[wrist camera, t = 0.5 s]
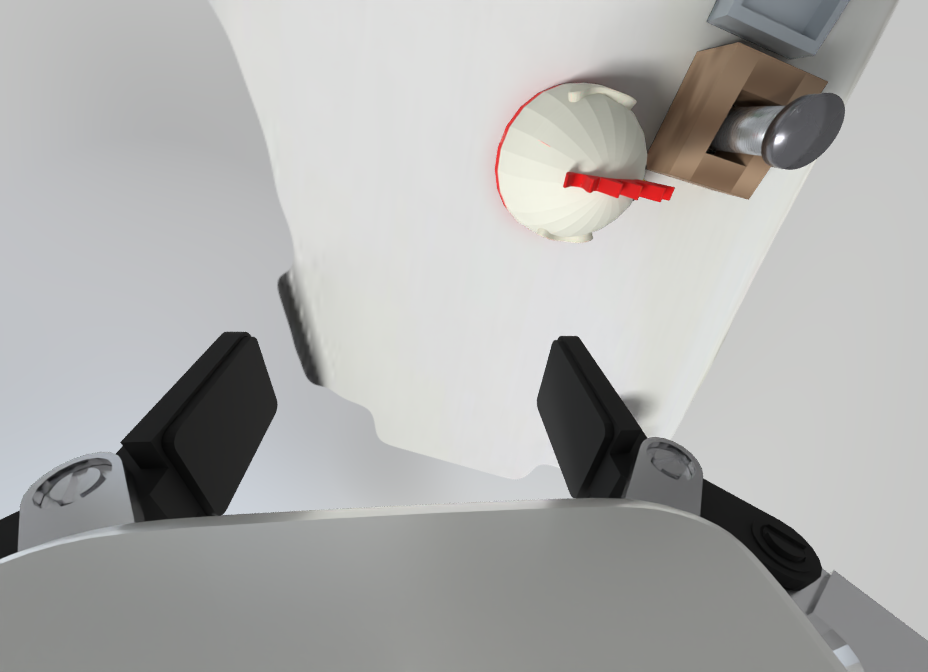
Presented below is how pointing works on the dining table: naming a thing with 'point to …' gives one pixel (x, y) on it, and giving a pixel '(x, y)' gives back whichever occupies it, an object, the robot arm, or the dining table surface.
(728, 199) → the dining table surface
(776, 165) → the pin
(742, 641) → the robot arm
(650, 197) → the kitchen timer
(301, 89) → the dining table surface
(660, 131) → the socket block
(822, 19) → the tray
